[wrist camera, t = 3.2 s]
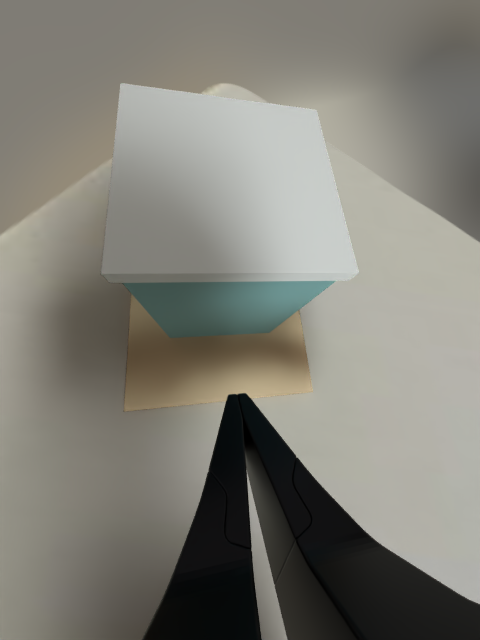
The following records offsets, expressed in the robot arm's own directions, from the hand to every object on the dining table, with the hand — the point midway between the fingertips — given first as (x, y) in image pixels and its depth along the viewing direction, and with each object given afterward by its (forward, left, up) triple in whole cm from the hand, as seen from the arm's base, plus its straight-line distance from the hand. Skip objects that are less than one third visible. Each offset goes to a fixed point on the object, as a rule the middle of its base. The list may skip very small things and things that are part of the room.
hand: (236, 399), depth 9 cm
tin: (+8, -4, -6) cm, 11 cm away
